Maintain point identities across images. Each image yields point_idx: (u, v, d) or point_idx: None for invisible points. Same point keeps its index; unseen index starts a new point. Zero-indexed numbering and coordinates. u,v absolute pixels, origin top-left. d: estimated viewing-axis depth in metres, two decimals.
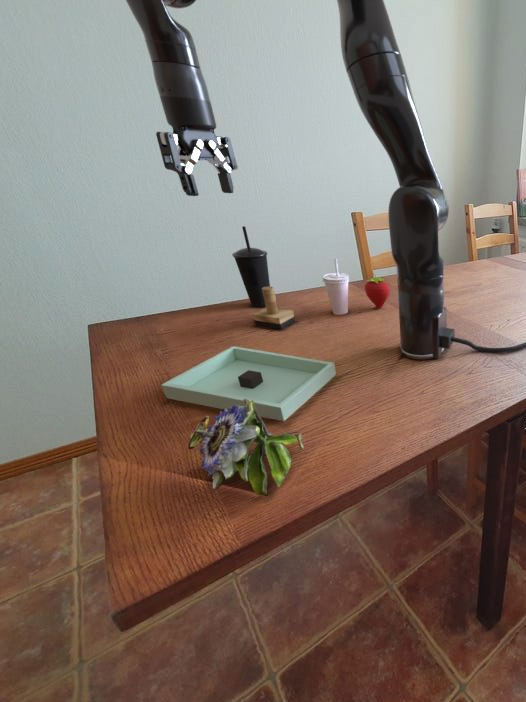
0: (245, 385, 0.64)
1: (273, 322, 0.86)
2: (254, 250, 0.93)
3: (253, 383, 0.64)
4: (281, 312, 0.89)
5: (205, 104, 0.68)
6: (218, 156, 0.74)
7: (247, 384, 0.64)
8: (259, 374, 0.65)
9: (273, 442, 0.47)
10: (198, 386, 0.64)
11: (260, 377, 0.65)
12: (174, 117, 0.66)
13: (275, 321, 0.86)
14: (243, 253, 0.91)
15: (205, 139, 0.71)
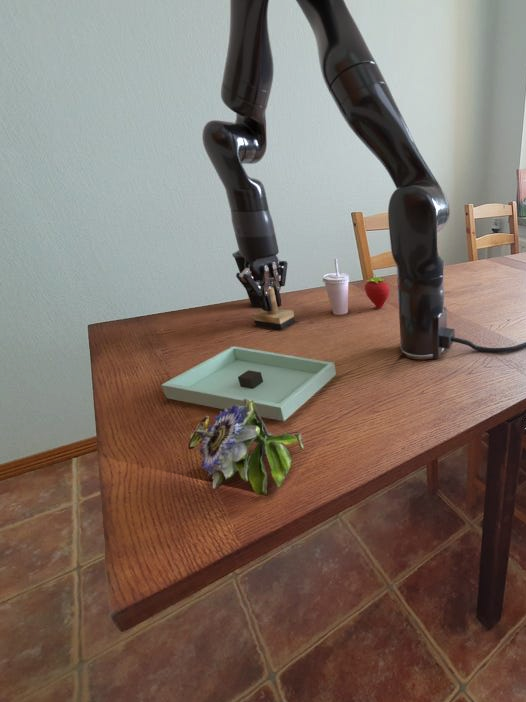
0: (245, 385, 0.64)
1: (273, 322, 0.86)
2: None
3: (253, 383, 0.64)
4: (281, 312, 0.89)
5: (271, 238, 0.80)
6: (275, 275, 0.85)
7: (247, 384, 0.64)
8: (259, 374, 0.65)
9: (273, 442, 0.47)
10: (198, 386, 0.64)
11: (260, 377, 0.65)
12: (247, 252, 0.78)
13: (275, 321, 0.86)
14: None
15: (269, 262, 0.83)
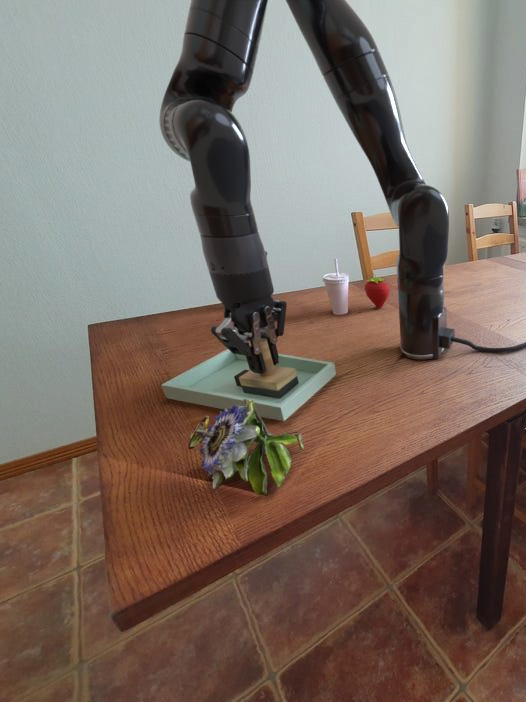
0: None
1: (268, 388, 0.61)
2: None
3: None
4: (279, 372, 0.63)
5: (263, 274, 0.54)
6: (269, 324, 0.60)
7: None
8: None
9: (273, 442, 0.47)
10: (198, 386, 0.64)
11: None
12: (227, 295, 0.53)
13: (270, 387, 0.61)
14: None
15: (260, 306, 0.58)
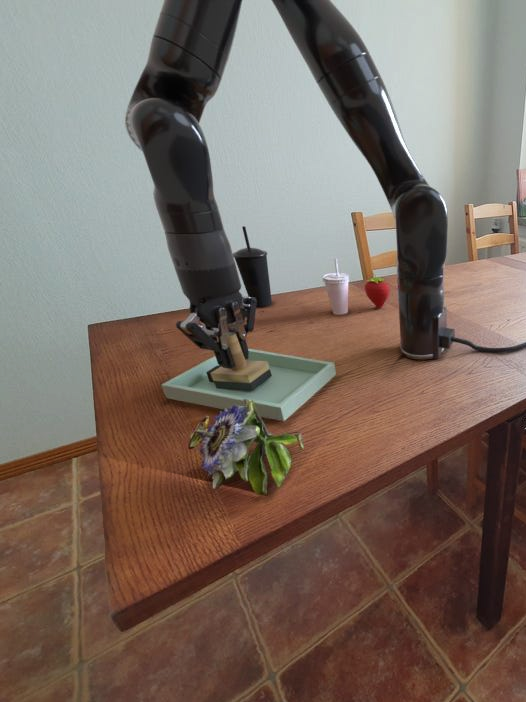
0: None
1: (240, 381, 0.62)
2: (254, 250, 0.93)
3: None
4: (251, 365, 0.64)
5: (228, 270, 0.55)
6: (237, 320, 0.61)
7: None
8: None
9: (273, 442, 0.47)
10: (198, 386, 0.64)
11: None
12: (192, 291, 0.54)
13: (243, 380, 0.62)
14: (243, 253, 0.91)
15: (228, 302, 0.59)
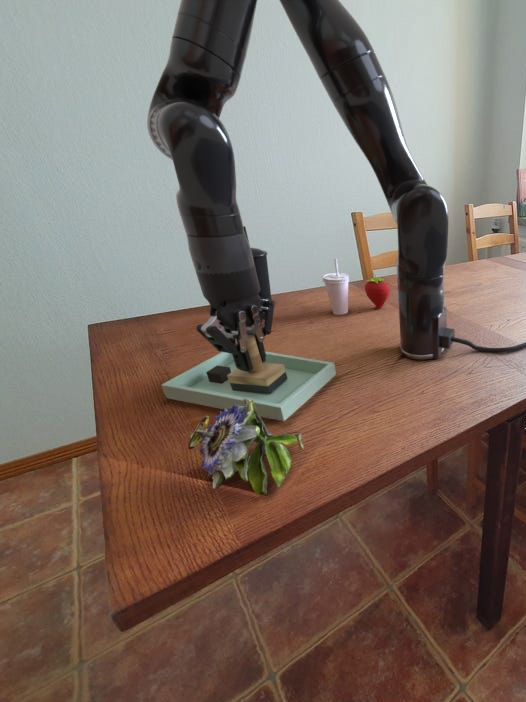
0: (214, 380, 0.65)
1: (257, 384, 0.62)
2: (254, 250, 0.93)
3: (222, 378, 0.65)
4: (267, 368, 0.64)
5: (249, 273, 0.55)
6: (256, 322, 0.60)
7: (216, 379, 0.65)
8: (228, 369, 0.66)
9: (273, 442, 0.47)
10: (198, 386, 0.64)
11: (229, 371, 0.66)
12: (213, 294, 0.54)
13: (260, 383, 0.62)
14: None
15: (247, 305, 0.59)
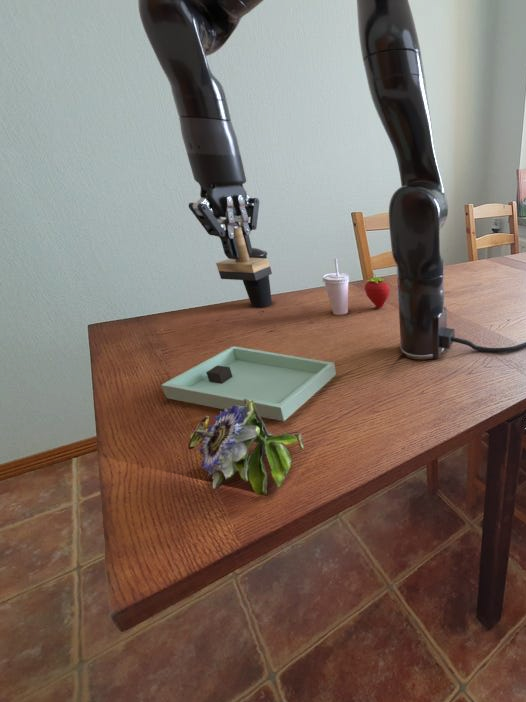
0: (214, 380, 0.65)
1: (244, 271, 0.68)
2: (254, 250, 0.93)
3: (222, 378, 0.65)
4: (253, 260, 0.71)
5: (235, 160, 0.62)
6: (242, 213, 0.67)
7: (216, 379, 0.65)
8: (228, 369, 0.66)
9: (273, 442, 0.47)
10: (198, 386, 0.64)
11: (229, 371, 0.66)
12: (203, 175, 0.60)
13: (247, 269, 0.68)
14: None
15: (234, 194, 0.65)
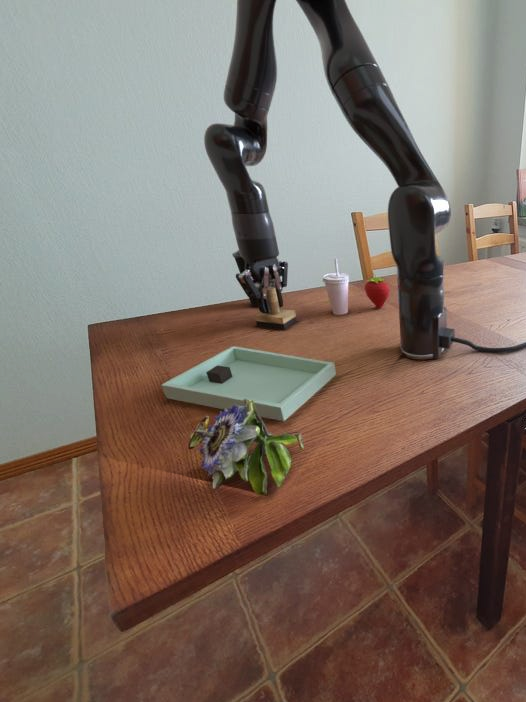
0: (214, 380, 0.65)
1: (276, 322, 0.87)
2: None
3: (222, 378, 0.65)
4: (283, 312, 0.89)
5: (272, 240, 0.80)
6: (276, 277, 0.85)
7: (216, 379, 0.65)
8: (228, 369, 0.66)
9: (273, 442, 0.47)
10: (198, 386, 0.64)
11: (229, 371, 0.66)
12: (247, 254, 0.78)
13: (278, 321, 0.86)
14: None
15: (269, 264, 0.83)
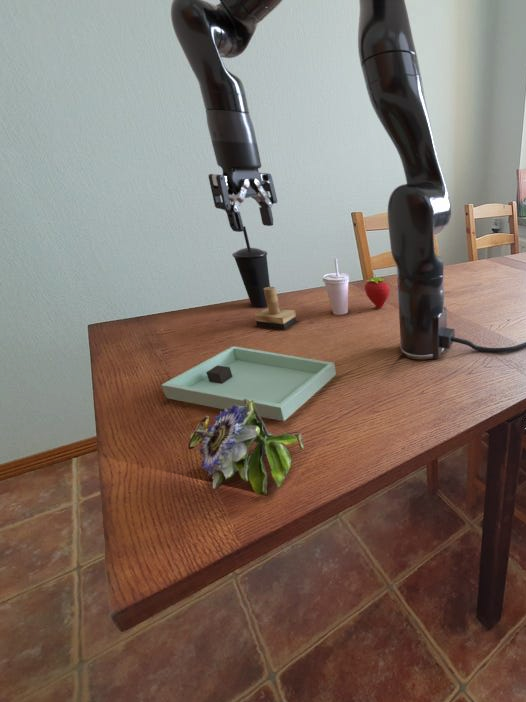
0: (214, 380, 0.65)
1: (276, 322, 0.87)
2: (254, 250, 0.93)
3: (222, 378, 0.65)
4: (283, 312, 0.89)
5: (253, 147, 0.71)
6: (261, 193, 0.78)
7: (216, 379, 0.65)
8: (228, 369, 0.66)
9: (273, 442, 0.47)
10: (198, 386, 0.64)
11: (229, 371, 0.66)
12: (225, 160, 0.70)
13: (278, 321, 0.86)
14: (243, 253, 0.91)
15: (250, 178, 0.75)
